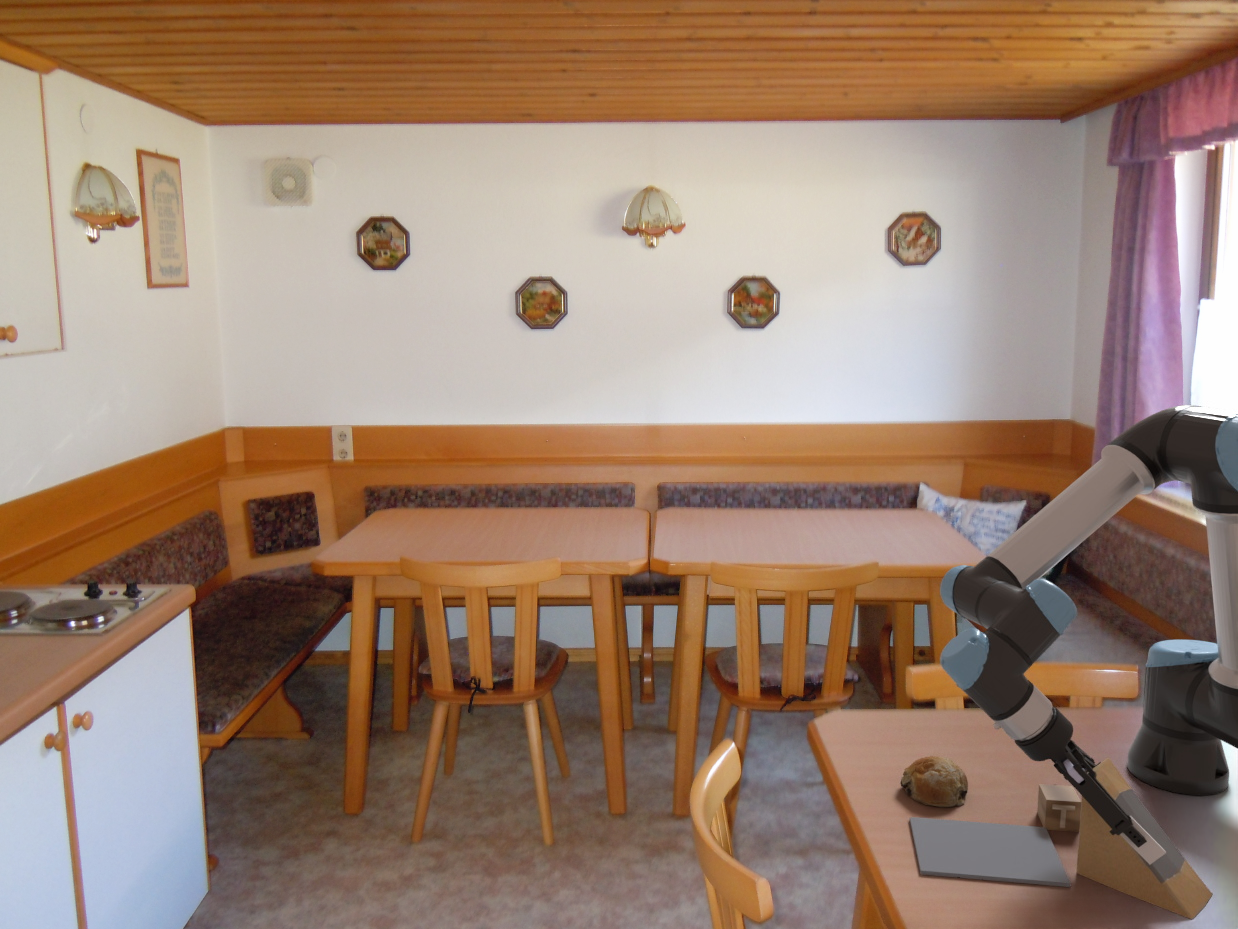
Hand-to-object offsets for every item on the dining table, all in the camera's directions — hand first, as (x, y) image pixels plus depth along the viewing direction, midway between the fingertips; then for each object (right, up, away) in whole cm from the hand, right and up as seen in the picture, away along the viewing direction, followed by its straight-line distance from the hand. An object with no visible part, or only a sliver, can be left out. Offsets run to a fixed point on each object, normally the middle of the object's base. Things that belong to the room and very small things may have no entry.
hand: (1142, 833), depth 144 cm
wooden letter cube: (-5, -4, +15) cm, 17 cm away
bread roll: (-22, -3, +25) cm, 33 cm away
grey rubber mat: (-19, -5, +7) cm, 21 cm away
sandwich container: (0, -7, -1) cm, 7 cm away
